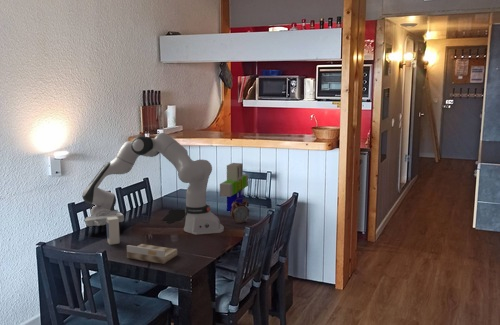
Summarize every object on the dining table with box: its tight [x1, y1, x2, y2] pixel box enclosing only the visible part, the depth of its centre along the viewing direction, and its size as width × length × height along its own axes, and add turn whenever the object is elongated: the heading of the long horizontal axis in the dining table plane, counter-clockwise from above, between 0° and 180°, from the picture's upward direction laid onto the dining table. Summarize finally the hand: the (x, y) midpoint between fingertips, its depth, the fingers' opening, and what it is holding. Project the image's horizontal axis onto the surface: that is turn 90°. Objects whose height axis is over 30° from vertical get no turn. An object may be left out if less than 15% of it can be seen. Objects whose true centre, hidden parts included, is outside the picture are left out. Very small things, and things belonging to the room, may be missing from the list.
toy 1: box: [161, 209, 186, 225], centre depth 293 cm, size 12×1×30 cm
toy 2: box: [219, 162, 249, 213], centre depth 306 cm, size 34×7×30 cm, turn 161°
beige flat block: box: [126, 243, 178, 264], centre depth 224 cm, size 20×12×6 cm, turn 69°
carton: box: [105, 216, 121, 246], centre depth 244 cm, size 5×5×13 cm
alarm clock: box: [229, 197, 250, 225], centre depth 279 cm, size 11×5×15 cm, turn 115°
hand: (107, 223), depth 254 cm, fingers open, 8 cm apart
